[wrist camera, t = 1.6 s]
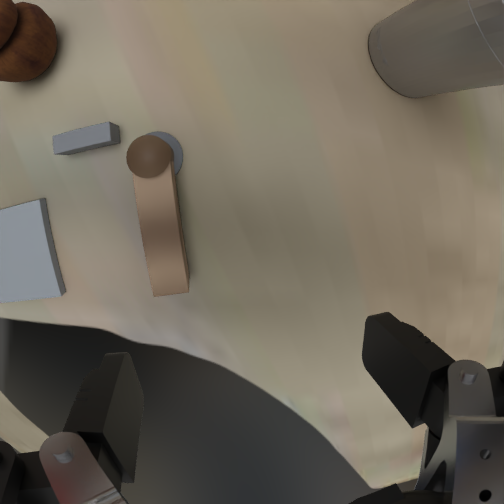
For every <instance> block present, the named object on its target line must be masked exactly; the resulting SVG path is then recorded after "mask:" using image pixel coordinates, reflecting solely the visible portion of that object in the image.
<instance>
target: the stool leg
mask: <svg viewBox="0 0 504 504" xmlns="http://www.w3.org/2000/svg"><path fill="white" fill-rule="evenodd" d="M126 158H127V164H128V167H129V169H130V170H131V171H132V173H133V181H134V189H135V196H136V203H137V210H138V216H139V222H140V229H141V234H142V240H143V246H144V251H145V257H146V262H147V267H148V272H149V277H150V281H151V286H152V291H153V295H154V297H156V296H164V295H172V294H179V293H187V292H189V278H190V276H189V270H188V264H187V258H186V252H185V245H184V238H183V232H182V225H181V217H180V210H179V202H178V195H177V187H176V178H175V170H174V152H173V149H172V148H171V146H170V145H169V144H168V143H166V142H165V141H164V140H162V139H161V138H159V137H157V136H154V135H144V136H141V137H139V138H137V139H136V140H134V141H133V142H132V143H131V145H130V146H129V148H128V151H127V157H126Z"/></svg>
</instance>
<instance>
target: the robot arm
mask: <svg viewBox="0 0 504 504" xmlns="http://www.w3.org/2000/svg"><path fill="white" fill-rule="evenodd" d="M369 52H370V56H371V60H372V62H373V64H374V66H375V68H376V70H377V72H378V73H379V75H380V76H381V77H382V79H383V80H384V81H385V82H386V83H387V84H388V85H389V86H390V87H391V88H392V89H393V90H395V91H397V92H398V93H400V94H401V95H404V96H407V97H411V98H420V97H425V96H431V95H436V94H441V93H448V92H454V91H460V90H466V89H473V88H480V87H488V86H496V85H504V0H416V1H414V2H412V3H411V4H409V5H407V6H405V7H404V8H402V9H400V10H399V11H397V12H395V13H394V14H392V15H391V16H389V17H387V18H386V19H384V20H382V21H381V22H379V23H378V24H376V25H375V26H374V28H373V29H372V31H371V33H370V36H369ZM362 359H363V364H364V366H365V368H366V370H367V371H368V372H369V374H370V375H371V376H372V378H373V379H374V380H375V381H376V383H377V384H378V385H379V386H380V388H381V389H382V390H383V392H384V393H385V394H386V395H387V397H388V398H389V399H390V400H391V402H392V403H393V404H394V406H395V407H396V408H397V409H398V411H399V412H400V413H401V415H402V416H403V417H404V418H405V420H406V421H407V422H408V424H409V425H410V426H411V427H412V428H414V427H417V426H419V425H421V424H423V423H425V424H426V425H427V426H428V427H427V429H426V431H425V438H424V446H423V454H422V461H421V468H420V474H419V478H418V481H417V484H416V486H415V489H414V490H412V491H404V492H401V490H400V489H399V487H398V486H397V484H396V483H395V484H393V485H391V486H388V487H386V488H384V489H381V490H379V491H376V492H374V493H371V494H369V495H366V496H363V497H360V498H358V499H356V500H354V501H353V502H351V503H349V504H504V361H503V364H502V366H501V367H496V368H491V369H486V368H485V367H484V366H483V365H482V364H480V363H478V362H475V361H472V360H459V361H455V360H454V359H452V358H451V357H450V356H449V355H448V354H447V353H445V352H444V351H443V350H442V349H441V348H440V347H438V346H437V345H436V344H435V343H434V342H431V340H430V339H429V338H428V337H426V336H424V334H423V333H422V332H420V331H419V330H418V329H417V328H415V327H414V326H411V325H409V324H407V323H404V322H400V321H399V320H398V319H397V318H396V317H394V316H393V315H392V314H391V313H389V312H384V313H380V314H376V315H372V316H368V317H367V319H366V322H365V331H364V341H363V350H362ZM79 390H80V392H78V394H77V396H76V401H74V404H73V406H72V409H71V411H70V414H69V417H68V419H67V422H66V424H65V427H64V430H63V432H60V433H57V434H54V435H52V436H50V437H49V438H47V439H46V440H45V441H44V443H43V444H42V446H41V448H40V451H36V452H29V453H21V454H17V453H16V451H15V450H14V449H13V448H12V446H11V445H10V444H8V443H6V442H3V441H0V504H129V503H128V502H127V500H126V499H125V498H124V496H123V495H122V494H121V493H120V492H121V483H122V482H125V483H134V478H135V469H136V459H137V451H138V443H139V435H140V428H141V421H142V414H143V407H144V398H143V392H142V388H141V385H140V383H139V380H138V377H137V374H136V371H135V368H134V365H133V362H132V359H131V356H130V355H129V353H126V352H124V353H108V354H105V356H104V358H103V361H102V363H101V366H100V368H99V369H93V370H92V371H91V372H90V373H89V374H88V375H87V376H86V377H85V378H84V379H83V382H82V384H81V386H80V389H79Z"/></svg>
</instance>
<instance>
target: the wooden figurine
mask: <svg viewBox="0 0 504 504" xmlns="http://www.w3.org/2000/svg"><path fill="white" fill-rule="evenodd" d="M56 48H57V38H56V29H55V25H54V23H53V21H52V20H51V18H50V17H49V16H48V15H47V14H46V13H45V12H44V11H43V10H42V9H41V8H40V7H38V6H37V5H34V4H30V3H26V2H20V3H16V4H14V3H13V1H12V0H0V81H7V82H21V81H28V80H31V79H34V78H36V77H37V76H39V75H41V74H42V73H43V72H44V71H45V70H46V69H47V68H48V67H49V65H50V63H51V62H52V60H53V58H54V55H55V53H56Z"/></svg>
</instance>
